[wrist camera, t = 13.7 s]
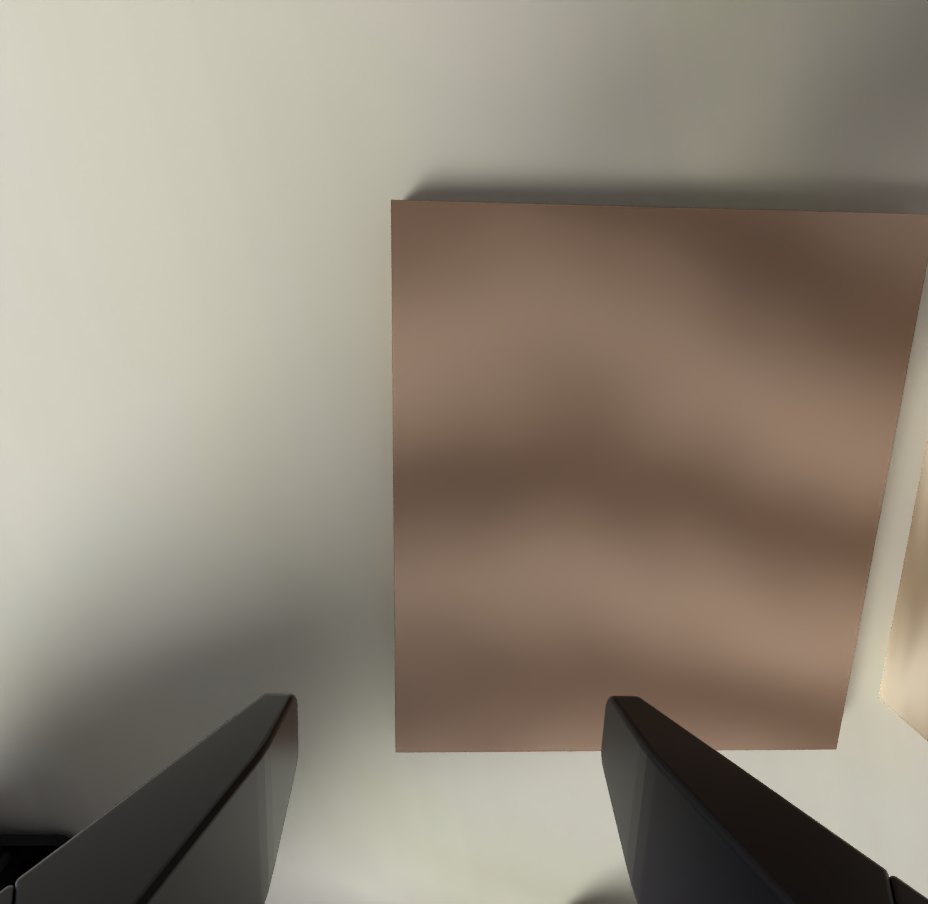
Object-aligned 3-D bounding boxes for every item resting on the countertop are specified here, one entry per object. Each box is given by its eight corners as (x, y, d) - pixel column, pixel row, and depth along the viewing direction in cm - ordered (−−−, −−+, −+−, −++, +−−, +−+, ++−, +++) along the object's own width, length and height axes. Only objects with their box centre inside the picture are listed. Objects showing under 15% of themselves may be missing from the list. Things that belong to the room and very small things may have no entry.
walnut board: (816, 727, 19) (836, 749, 18) (398, 729, 19) (395, 752, 18) (906, 220, 16) (936, 214, 15) (394, 207, 15) (390, 199, 14)
